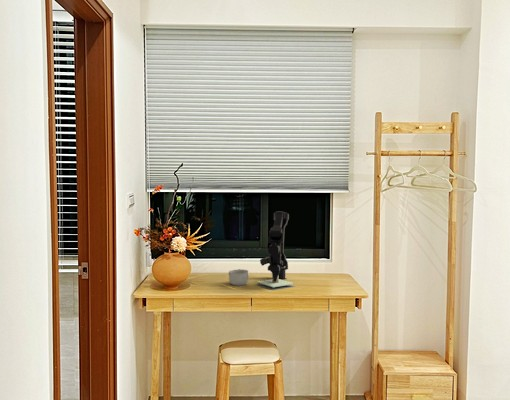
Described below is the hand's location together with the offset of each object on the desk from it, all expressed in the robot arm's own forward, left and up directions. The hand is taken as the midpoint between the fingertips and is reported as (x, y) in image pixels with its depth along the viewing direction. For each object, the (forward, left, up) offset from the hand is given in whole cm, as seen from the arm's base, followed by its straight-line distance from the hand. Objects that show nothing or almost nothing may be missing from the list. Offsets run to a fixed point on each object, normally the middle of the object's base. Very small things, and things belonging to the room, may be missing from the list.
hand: (275, 280), depth 318 cm
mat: (0, 0, -3) cm, 3 cm away
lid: (0, 0, -2) cm, 2 cm away
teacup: (+14, -15, -4) cm, 21 cm away
